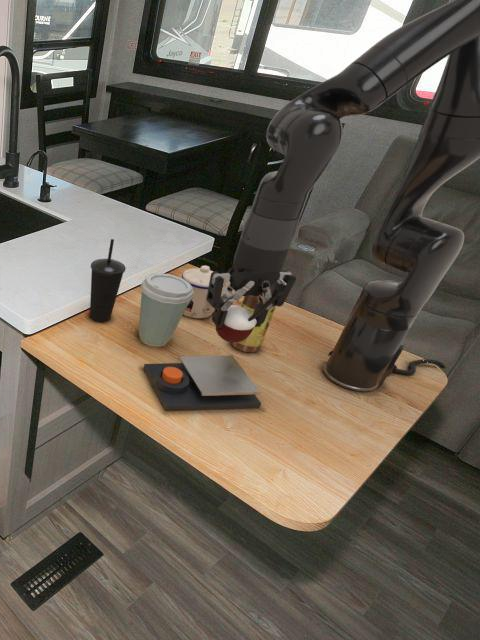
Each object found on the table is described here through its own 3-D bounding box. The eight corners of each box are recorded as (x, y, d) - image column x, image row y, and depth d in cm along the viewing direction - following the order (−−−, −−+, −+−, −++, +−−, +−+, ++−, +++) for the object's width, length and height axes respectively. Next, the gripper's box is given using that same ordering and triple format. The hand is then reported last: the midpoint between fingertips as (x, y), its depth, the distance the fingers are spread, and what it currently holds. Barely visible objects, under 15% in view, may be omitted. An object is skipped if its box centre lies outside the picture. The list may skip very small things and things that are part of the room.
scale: (228, 366, 108) (232, 355, 107) (259, 408, 98) (264, 396, 96) (141, 369, 108) (144, 357, 106) (163, 411, 97) (167, 399, 95)
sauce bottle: (263, 355, 112) (295, 272, 100) (232, 352, 113) (261, 269, 101) (255, 338, 117) (285, 258, 106) (226, 335, 118) (253, 255, 107)
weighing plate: (231, 357, 106) (232, 355, 106) (259, 394, 96) (260, 391, 96) (178, 358, 106) (179, 356, 105) (201, 396, 96) (202, 393, 96)
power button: (177, 372, 103) (178, 366, 102) (183, 384, 100) (185, 377, 99) (159, 373, 102) (160, 366, 102) (165, 384, 100) (167, 378, 99)
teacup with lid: (167, 302, 130) (177, 259, 124) (200, 299, 131) (213, 257, 125) (191, 327, 121) (204, 283, 114) (227, 324, 122) (242, 280, 115)
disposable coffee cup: (151, 322, 123) (164, 264, 114) (189, 343, 115) (207, 284, 107) (120, 336, 118) (131, 277, 109) (158, 359, 111) (174, 298, 102)
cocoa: (202, 326, 99) (219, 270, 92) (232, 323, 100) (251, 267, 93) (231, 355, 91) (252, 296, 85) (263, 351, 92) (286, 293, 86)
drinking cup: (78, 312, 127) (88, 235, 115) (105, 307, 128) (118, 231, 117) (93, 328, 121) (105, 248, 109) (122, 322, 122) (137, 244, 111)
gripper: (233, 249, 81) (206, 337, 91) (323, 247, 82) (286, 335, 91) (212, 230, 87) (189, 315, 97) (296, 229, 88) (264, 313, 97)
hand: (236, 324), depth 94 cm, fingers closed on cocoa, 6 cm apart
